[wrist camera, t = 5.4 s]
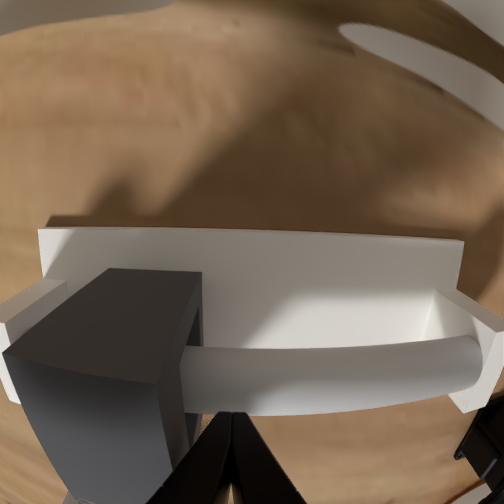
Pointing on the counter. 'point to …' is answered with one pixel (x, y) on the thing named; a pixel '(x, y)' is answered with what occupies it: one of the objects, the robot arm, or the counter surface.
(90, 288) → the dark gray rectangular sleeve
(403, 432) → the counter surface
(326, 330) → the white slider rail stand
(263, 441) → the robot arm
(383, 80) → the counter surface
